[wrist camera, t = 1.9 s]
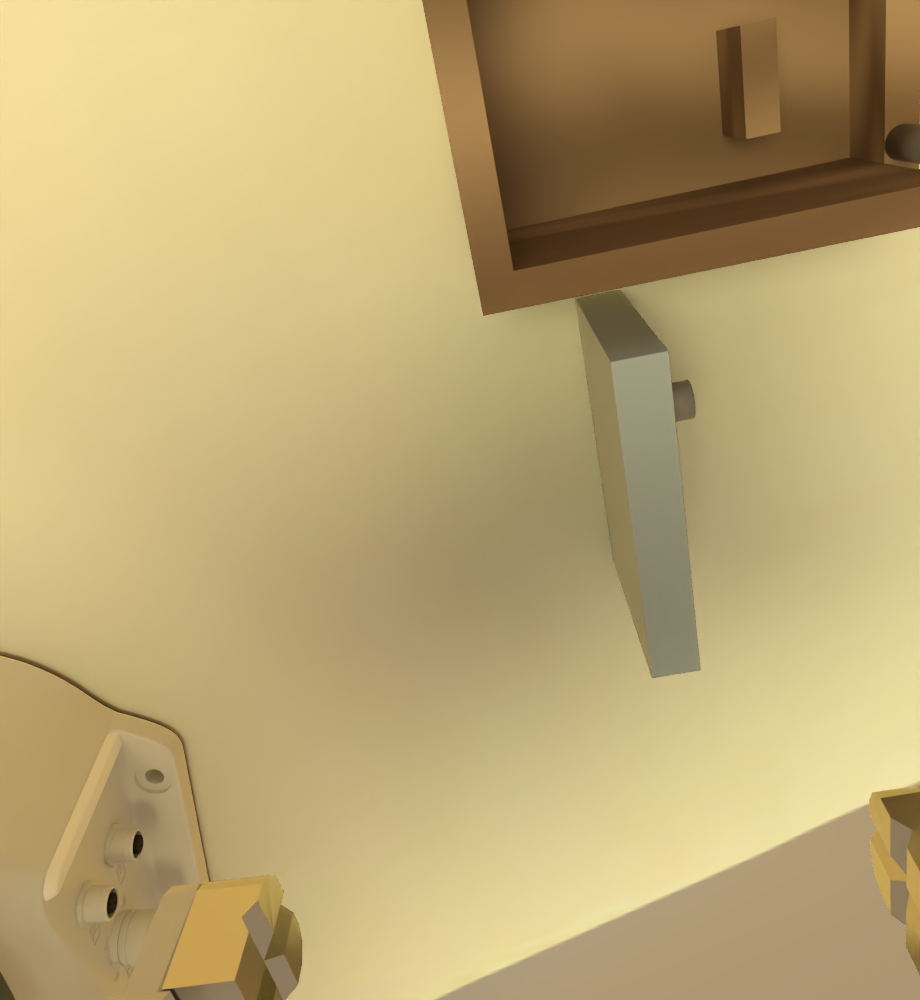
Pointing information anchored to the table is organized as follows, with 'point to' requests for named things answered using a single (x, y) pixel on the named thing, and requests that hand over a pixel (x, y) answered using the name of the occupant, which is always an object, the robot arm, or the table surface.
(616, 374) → the door
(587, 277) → the wooden box
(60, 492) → the table surface
